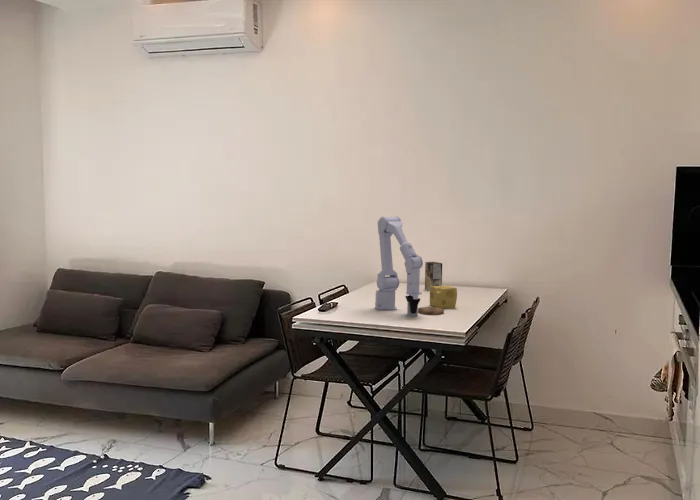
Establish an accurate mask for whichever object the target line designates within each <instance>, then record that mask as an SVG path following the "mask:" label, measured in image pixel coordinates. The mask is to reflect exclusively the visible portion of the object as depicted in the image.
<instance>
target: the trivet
mask: <svg viewBox="0 0 700 500" xmlns="http://www.w3.org/2000/svg"><path fill="white" fill-rule="evenodd" d="M418 314H420V315H429V316H437V315H438V316H439V315H444V314H445V308H443V309H442V308H437V307H433V306H424V307H423V306H422V307H418Z"/></svg>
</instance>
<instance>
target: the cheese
mask: <svg viewBox="0 0 700 500" xmlns="http://www.w3.org/2000/svg"><path fill="white" fill-rule="evenodd" d="M457 299H458V289H457V287H453V286H450V285H442V286H430V291H429V305H430V306H429V307H437V308H442V309H456V305H457Z"/></svg>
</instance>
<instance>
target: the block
mask: <svg viewBox="0 0 700 500" xmlns="http://www.w3.org/2000/svg"><path fill="white" fill-rule="evenodd" d="M418 308H419V305H418V306H417V311H416V313H411V311H410V304H409V302H407V308H406V309H407V311H406V312H407V313H406V314H407V317H418V314H419V313H418Z"/></svg>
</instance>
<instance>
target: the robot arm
mask: <svg viewBox="0 0 700 500" xmlns="http://www.w3.org/2000/svg"><path fill="white" fill-rule="evenodd" d="M402 227H403V222H402V219H401V218H400V217H399V216H381V217H379V218H378V220H377V231H378V232H377V233H378V237H379V238H378V239H379V240H378V241H379V251H380V261H381V265H380V266H381V270H380V272H379V273H377V277H376V278H377V280H376V287H377V288H378V290H376V291H375V302H374V303H375V304H374V307H375V308H376V310H379V311H383V310H384V311H385V310H386V311H387V310H388V311H391V310H393V311H394V310H395V311H397V309H398V308H397V307H396V291H397V290H398V288H399V286H400V279H399V276H398V272H397V271H395V269H394V268H393V267H394V266H393V265H394V263H393V254H392V252H393V251H392V239H391V237H392V235H394V236H393V237H395V239H396V240H397V242H398V244H399V245H400V247H399V250H400V252H401V255H402V257H403V259H404V260H405V261H404V268H405V272H406V292H405V293H406V295H405V296H404V297H405V299H406V302H407V303H408V302H409V304H410V311H411V313H416V311H417V306H418V307H419V303H420V301H421V298H420V297H419V296H420V295H423V292H421V291H420V276H421V275H420V274H421V268H422V267H423V264H424V263H423V259H422V256H420V255H419V254H417V253H416V251H415V249H414V247H413V245H412V243H410V242H408V240H407V238H406V236H405V233H404V231H403V228H402Z"/></svg>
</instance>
